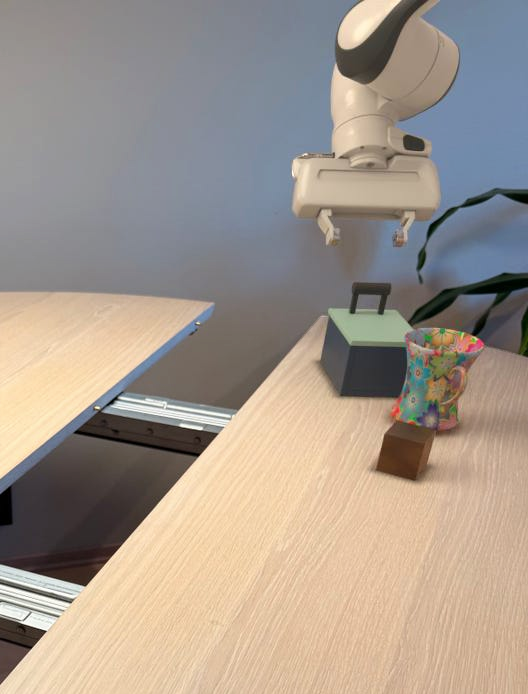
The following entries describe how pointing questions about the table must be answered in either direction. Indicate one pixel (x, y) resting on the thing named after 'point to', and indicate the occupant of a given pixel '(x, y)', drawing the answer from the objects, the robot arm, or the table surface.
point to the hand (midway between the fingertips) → (366, 244)
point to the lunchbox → (362, 366)
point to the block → (405, 450)
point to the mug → (435, 376)
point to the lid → (371, 319)
